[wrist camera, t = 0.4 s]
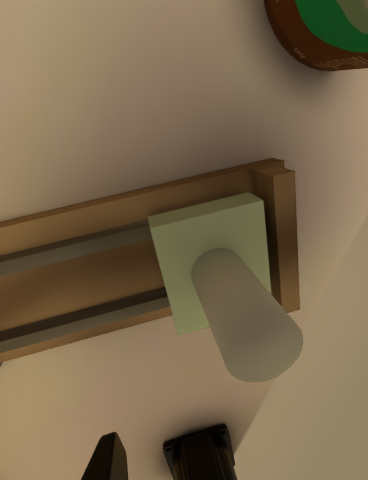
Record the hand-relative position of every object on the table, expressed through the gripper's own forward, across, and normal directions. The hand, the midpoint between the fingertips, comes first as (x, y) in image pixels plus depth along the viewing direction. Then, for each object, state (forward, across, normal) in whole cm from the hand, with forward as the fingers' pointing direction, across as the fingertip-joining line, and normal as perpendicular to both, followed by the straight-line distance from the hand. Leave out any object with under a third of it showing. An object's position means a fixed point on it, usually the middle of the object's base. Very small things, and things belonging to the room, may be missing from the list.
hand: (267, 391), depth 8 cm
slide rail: (+13, +4, 0) cm, 13 cm away
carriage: (+10, -1, 0) cm, 10 cm away
